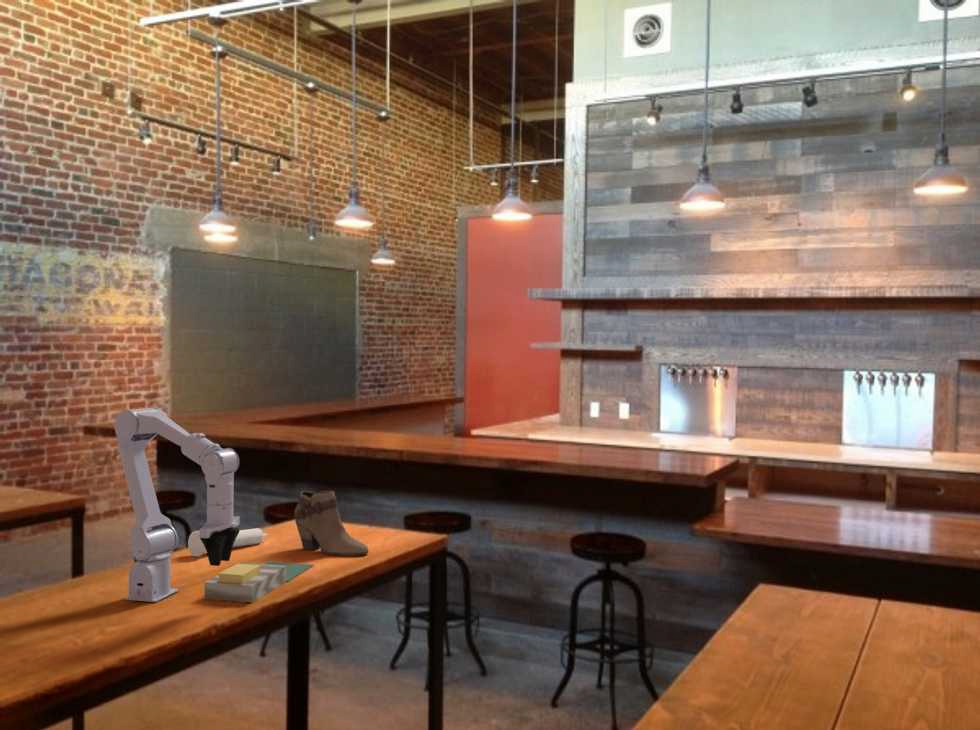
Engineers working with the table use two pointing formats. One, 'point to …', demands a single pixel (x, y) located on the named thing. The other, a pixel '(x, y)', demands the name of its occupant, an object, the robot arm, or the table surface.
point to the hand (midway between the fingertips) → (219, 562)
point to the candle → (242, 539)
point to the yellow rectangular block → (239, 573)
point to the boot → (324, 526)
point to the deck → (247, 585)
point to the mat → (291, 568)
